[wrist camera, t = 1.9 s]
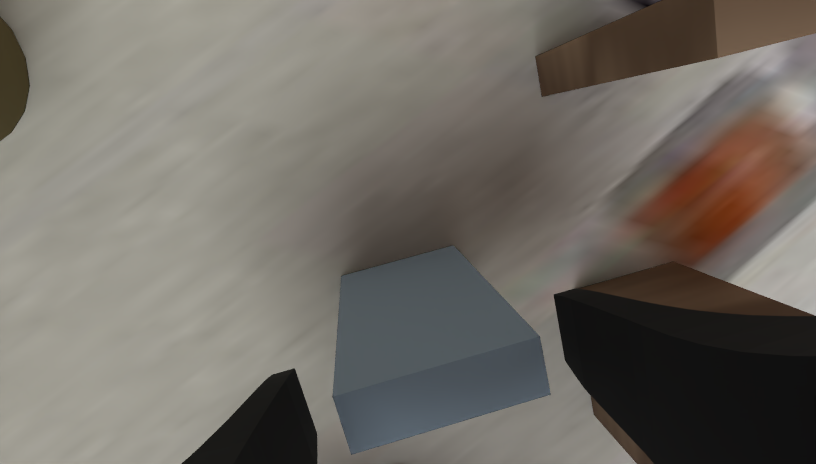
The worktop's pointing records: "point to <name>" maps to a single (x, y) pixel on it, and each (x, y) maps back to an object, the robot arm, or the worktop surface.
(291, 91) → the worktop surface
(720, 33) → the domino
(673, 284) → the domino
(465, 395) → the domino
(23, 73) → the cork
